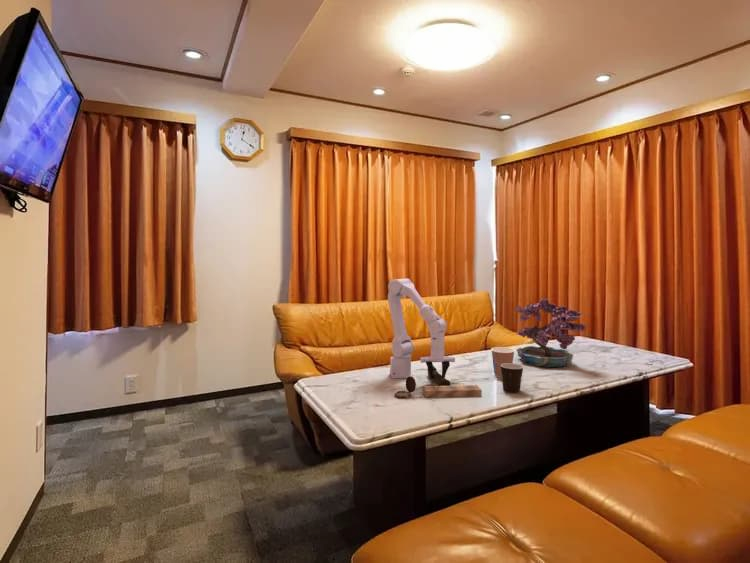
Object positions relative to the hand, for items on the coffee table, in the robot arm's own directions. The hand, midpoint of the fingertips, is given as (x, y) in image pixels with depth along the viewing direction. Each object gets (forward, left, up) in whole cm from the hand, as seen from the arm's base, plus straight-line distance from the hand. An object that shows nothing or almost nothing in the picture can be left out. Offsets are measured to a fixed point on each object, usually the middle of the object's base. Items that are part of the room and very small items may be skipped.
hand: (437, 378), depth 175 cm
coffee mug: (+27, -12, -2) cm, 29 cm away
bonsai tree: (+62, +27, -2) cm, 67 cm away
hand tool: (-1, +1, -2) cm, 2 cm away
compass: (-16, -15, -2) cm, 22 cm away
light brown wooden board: (+3, -14, -2) cm, 14 cm away
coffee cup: (+32, +9, -2) cm, 33 cm away
